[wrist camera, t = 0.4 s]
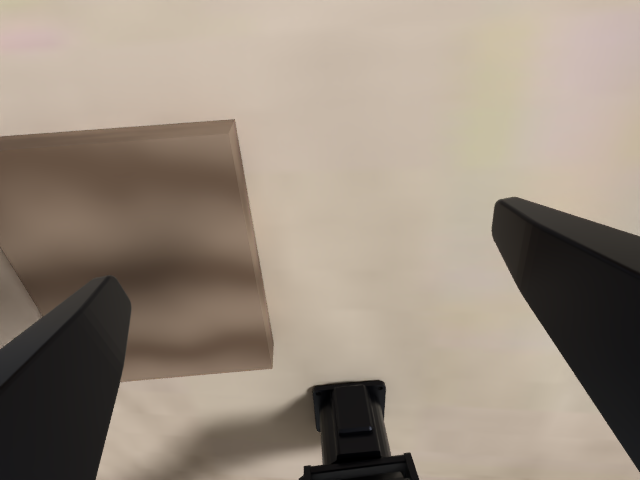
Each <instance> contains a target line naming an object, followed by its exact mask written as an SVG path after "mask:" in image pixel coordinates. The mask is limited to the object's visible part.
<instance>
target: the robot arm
mask: <svg viewBox="0 0 640 480" xmlns="http://www.w3.org/2000/svg"><path fill="white" fill-rule="evenodd" d="M492 236H493V239H494V241H495V243H496V245H497V247H498V249H499V251H500V253H501V255H502V257H503V259H504V261H505V263H506V265H507V267H508V269H509V271H510V273H511V275H512V277H513V279H514V281H515V283H516V285H517V287H518V289H519V290H520V292H521V294H522V295H523V297H524V298H525V300H526V301H527V303H528V304H529V306H530V308H531V309H532V311H533V312H534V314H535V315H536V317H537V318H538V320H539V321H540V323H541V324H542V326H543V327H544V329H545V330H546V332H547V333H548V335H549V336H550V338H551V339H552V341H553V342H554V344H555V345H556V347H557V348H558V350H559V351H560V353H561V354H562V356H563V357H564V359H565V360H566V362H567V363H568V365H569V366H570V368H571V369H572V371H573V372H574V374H575V375H576V377H577V378H578V380H579V381H580V383H581V384H582V386H583V387H584V389H585V390H586V392H587V393H588V395H589V396H590V398H591V400H592V401H593V403H594V404H595V406H596V407H597V409H598V410H599V412H600V413H601V415H602V416H603V418H604V419H605V421H606V422H607V424H608V425H609V427H610V428H611V430H612V431H613V433H614V434H615V436H616V437H617V439H618V440H619V442H620V443H621V445H622V446H623V448H624V449H625V451H626V452H627V454H628V455H629V457H630V458H631V460H632V461H633V463H634V464H635V466H636V467H637V469H638V470H639V472H640V236H637V235H634V234H631V233H627V232H624V231H621V230H618V229H615V228H612V227H609V226H606V225H602V224H599V223H596V222H593V221H590V220H587V219H584V218H581V217H577V216H574V215H571V214H568V213H565V212H562V211H559V210H556V209H552V208H549V207H546V206H543V205H540V204H537V203H534V202H530V201H527V200H524V199H521V198H518V197H510V198H505V199H500V200H498V201H497V202H496V203H495V207H494V214H493V222H492ZM131 310H132V307H131V302H130V299H129V297H128V296H127V294H126V292H125V291H124V289H123V288H122V286H121V284H120V283H119V281H118V280H117V278H116V277H114V276H112V275H107V276H102V277H96V278H94V279H92V280H91V281H89V282H88V283H87V284H85V285H84V286H83V287H81V288H80V289H79V290H77V291H76V292H75V293H73V294H72V295H71V296H70V297H68V298H67V299H66V300H64V301H63V302H62V303H60V304H59V305H58V306H56V307H55V308H54V309H53V310H51V311H50V312H49V313H47V314H46V315H45V316H43V317H42V318H41V319H39V320H38V321H37V322H35V323H34V324H33V325H32V326H30V327H29V328H28V329H26V330H25V331H24V332H22V333H21V334H20V335H18V336H17V337H16V338H14V339H13V340H12V341H11V342H9V343H8V344H7V345H5V346H4V347H3V348H1V349H0V480H96V476H97V472H98V468H99V464H100V460H101V456H102V452H103V448H104V444H105V440H106V436H107V432H108V428H109V424H110V420H111V416H112V412H113V408H114V404H115V400H116V396H117V392H118V388H119V384H120V380H121V376H122V372H123V367H124V362H125V356H126V348H127V341H128V333H129V325H130V318H131ZM385 393H386V387H385V383H384V382H383V381H373V382H362V383H351V384H340V385H329V386H318V387H315V388H314V389H313V400H314V410H315V419H316V429H317V431H318V432H321V447H322V462H323V465H318V466H311V465H308V466H304V475H303V476H302V477H301V478H299V480H419V478H418V474H417V471H416V468H415V465H414V462H413V459H412V456H411V453H404V455H397V456H391V452H390V447H389V443H388V438H387V433H386V429H385V424H384V409H385Z"/></svg>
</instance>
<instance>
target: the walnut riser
mask: <svg viewBox="0 0 640 480" xmlns="http://www.w3.org/2000/svg"><path fill="white" fill-rule="evenodd" d="M0 247H1V249H2V250H3V252H4V254H5V255H6V257H7V259H8V260H9V262H10V264H11V265H12V267H13V268H14V270H15V272H16V273H17V275H18V277H19V278H20V280H21V282H22V283H23V285H24V286H25V288H26V290H27V291H28V293H29V295H30V296H31V298H32V299H33V301H34V303H35V304H36V306H37V308H38V309H39V311H40V313H41V314H42V316H45V315H46V314H47V313H49V312H50V311H51V310H53V309H54V308H55V307H56V306H58V305H59V304H60V303H62V302H63V301H64V300H66V299H67V298H68V297H70V296H71V295H72V294H73V293H75V292H76V291H77V290H79V289H80V288H81V287H83V286H84V285H85V284H87V283H88V282H89V281H91V280H92V279H94V278H96V277H102V276H107V275H112V276H114V277H116V278H117V280H118V281H119V283H120V284H121V286H122V288H123V289H124V291H125V292H126V294H127V296H128V297H129V299H130V302H131V307H132V310H131V318H130V325H129V333H128V341H127V348H126V356H125V362H124V367H123V372H122V376H121V380H120V382H127V381H138V380H149V379H160V378H172V377H183V376H194V375H206V374H217V373H228V372H240V371H251V370H262V369H272V367H273V346H274V342H273V337H272V331H271V325H270V320H269V314H268V308H267V302H266V297H265V291H264V285H263V279H262V274H261V268H260V262H259V256H258V251H257V245H256V239H255V233H254V228H253V222H252V216H251V211H250V205H249V199H248V193H247V188H246V182H245V176H244V170H243V165H242V159H241V153H240V147H239V142H238V136H237V130H236V124H235V119H234V120H220V121H207V122H193V123H179V124H166V125H152V126H139V127H125V128H111V129H98V130H84V131H71V132H57V133H43V134H30V135H16V136H2V137H0Z"/></svg>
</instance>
